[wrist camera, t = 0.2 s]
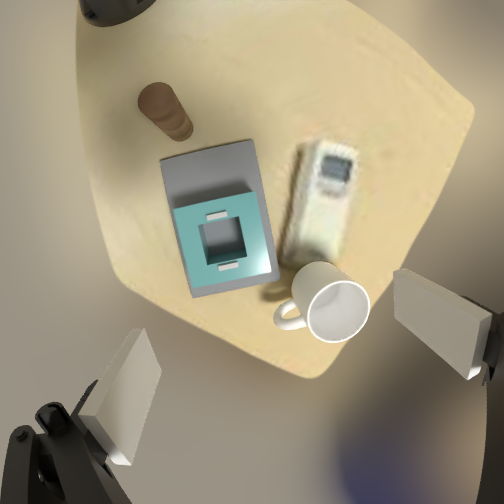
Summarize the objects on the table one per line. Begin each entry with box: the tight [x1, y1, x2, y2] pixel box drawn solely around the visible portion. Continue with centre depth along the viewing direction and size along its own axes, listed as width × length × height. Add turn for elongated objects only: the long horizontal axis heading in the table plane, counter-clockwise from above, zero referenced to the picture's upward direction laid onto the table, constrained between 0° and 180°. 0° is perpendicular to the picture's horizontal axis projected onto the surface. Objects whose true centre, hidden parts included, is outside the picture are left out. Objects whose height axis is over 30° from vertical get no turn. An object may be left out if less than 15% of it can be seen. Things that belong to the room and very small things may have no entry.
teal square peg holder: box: [173, 191, 271, 288], centre depth 36 cm, size 10×10×6 cm
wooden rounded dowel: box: [138, 82, 193, 141], centre depth 30 cm, size 4×4×14 cm
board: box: [160, 140, 281, 298], centre depth 39 cm, size 20×13×1 cm, turn 11°
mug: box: [273, 261, 370, 343], centre depth 37 cm, size 12×8×10 cm
